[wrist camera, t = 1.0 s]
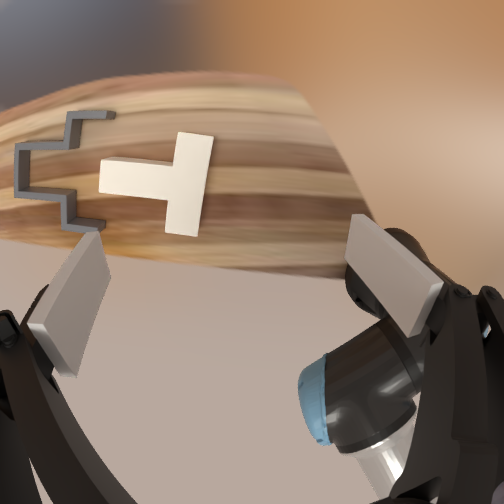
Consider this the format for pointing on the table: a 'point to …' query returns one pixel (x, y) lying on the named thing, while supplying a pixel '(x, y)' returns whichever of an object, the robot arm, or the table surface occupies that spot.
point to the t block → (165, 180)
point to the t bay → (55, 194)
